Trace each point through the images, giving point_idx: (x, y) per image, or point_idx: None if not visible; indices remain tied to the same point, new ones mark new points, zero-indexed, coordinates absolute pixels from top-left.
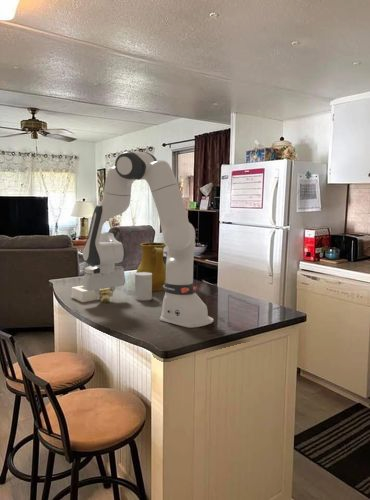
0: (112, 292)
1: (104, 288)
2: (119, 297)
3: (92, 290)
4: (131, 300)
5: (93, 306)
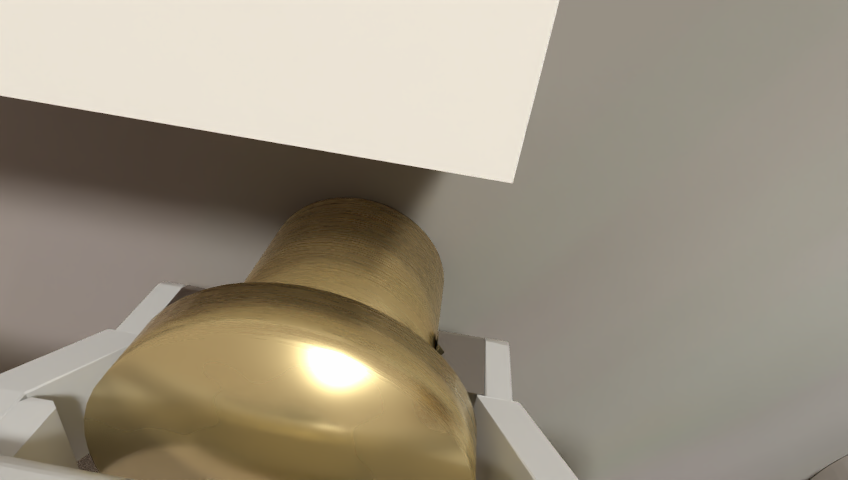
0: (479, 469)
1: (359, 396)
2: (809, 236)
3: (14, 92)
4: (709, 471)
5: (84, 330)
